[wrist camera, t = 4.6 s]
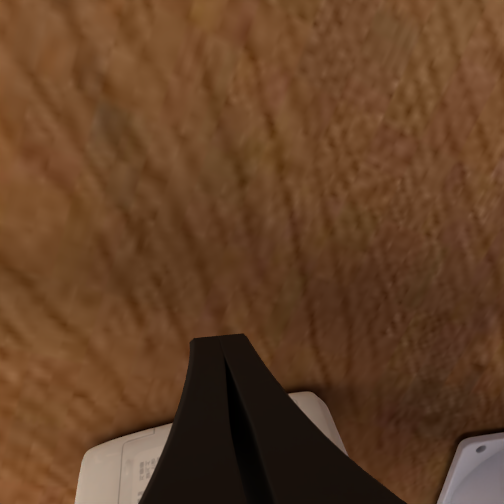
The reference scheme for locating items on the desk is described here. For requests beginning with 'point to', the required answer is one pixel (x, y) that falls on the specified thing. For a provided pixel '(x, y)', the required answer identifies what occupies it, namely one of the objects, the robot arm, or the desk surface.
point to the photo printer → (148, 453)
